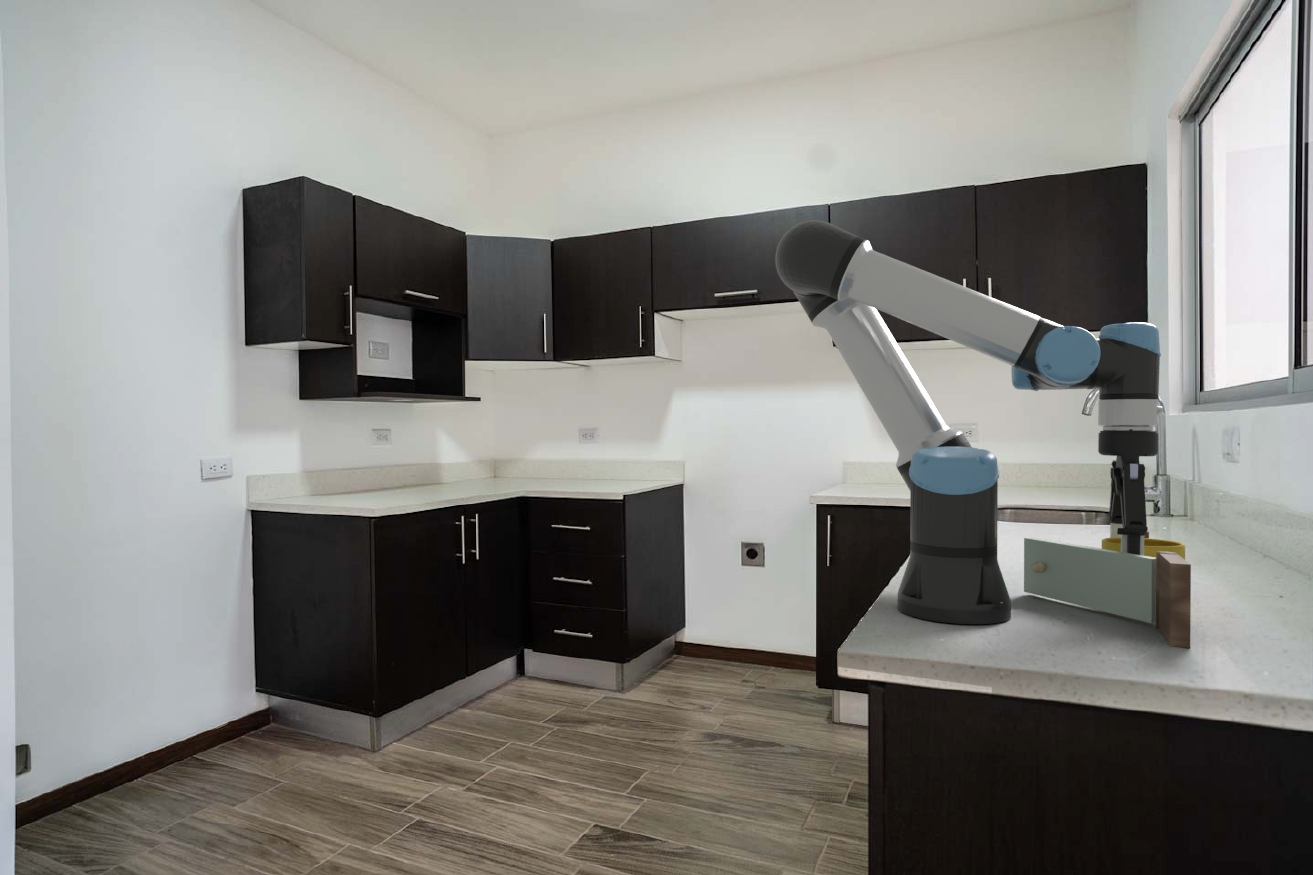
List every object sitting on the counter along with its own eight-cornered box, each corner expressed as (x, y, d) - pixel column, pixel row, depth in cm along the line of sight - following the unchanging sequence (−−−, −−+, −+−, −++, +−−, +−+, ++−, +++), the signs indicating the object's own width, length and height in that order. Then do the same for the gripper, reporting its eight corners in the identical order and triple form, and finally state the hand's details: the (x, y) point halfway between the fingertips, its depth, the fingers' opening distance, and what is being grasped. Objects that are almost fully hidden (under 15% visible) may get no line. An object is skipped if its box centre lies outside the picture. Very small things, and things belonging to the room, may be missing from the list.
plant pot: (1096, 597, 118) (1097, 534, 118) (1175, 603, 114) (1176, 538, 114) (1106, 611, 108) (1107, 543, 108) (1193, 619, 104) (1193, 548, 104)
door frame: (1168, 645, 91) (1168, 563, 91) (1128, 588, 124) (1128, 528, 124) (1192, 648, 90) (1192, 564, 90) (1145, 590, 123) (1146, 528, 123)
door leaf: (1145, 623, 100) (1145, 559, 100) (1018, 592, 119) (1018, 538, 119) (1159, 621, 101) (1160, 558, 101) (1031, 590, 120) (1031, 537, 120)
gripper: (1174, 429, 99) (1171, 591, 99) (1145, 429, 121) (1142, 561, 122) (1107, 429, 102) (1105, 586, 103) (1091, 428, 125) (1089, 557, 125)
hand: (1125, 573), depth 112 cm, fingers open, 13 cm apart
